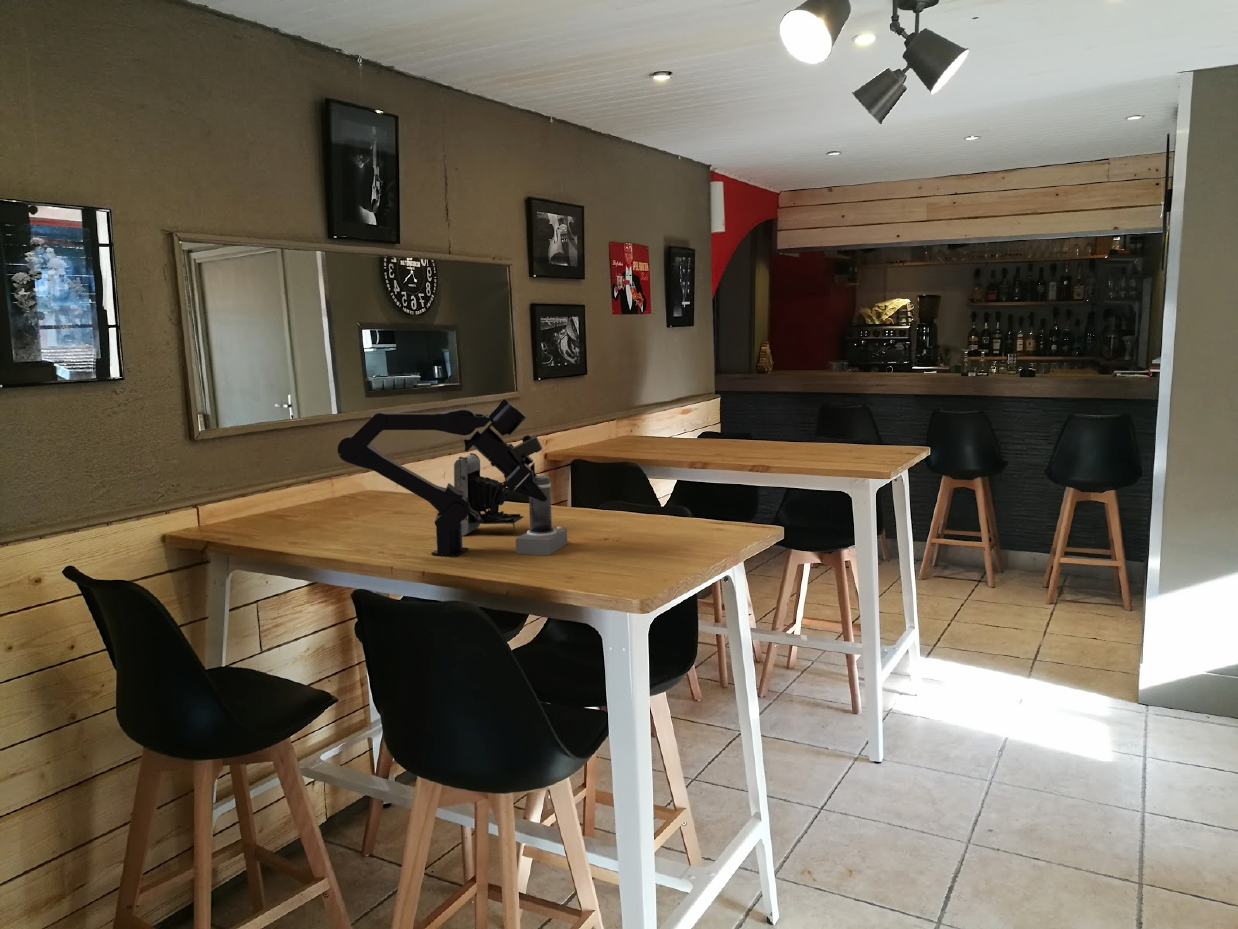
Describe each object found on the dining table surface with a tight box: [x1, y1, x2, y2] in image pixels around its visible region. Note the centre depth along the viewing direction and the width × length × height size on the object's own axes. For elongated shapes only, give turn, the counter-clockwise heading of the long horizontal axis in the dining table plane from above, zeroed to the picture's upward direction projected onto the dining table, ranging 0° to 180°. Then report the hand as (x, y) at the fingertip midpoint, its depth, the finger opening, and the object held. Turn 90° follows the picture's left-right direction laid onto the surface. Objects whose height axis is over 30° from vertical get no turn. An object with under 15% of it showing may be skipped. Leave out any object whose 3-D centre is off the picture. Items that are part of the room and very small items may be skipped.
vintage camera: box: [453, 452, 524, 537], centre depth 224 cm, size 10×16×20 cm, turn 79°
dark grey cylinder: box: [528, 475, 553, 532], centre depth 205 cm, size 5×5×12 cm
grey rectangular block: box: [515, 526, 568, 556], centre depth 206 cm, size 12×8×4 cm, turn 164°
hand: (546, 496), depth 205 cm, fingers open, 9 cm apart
